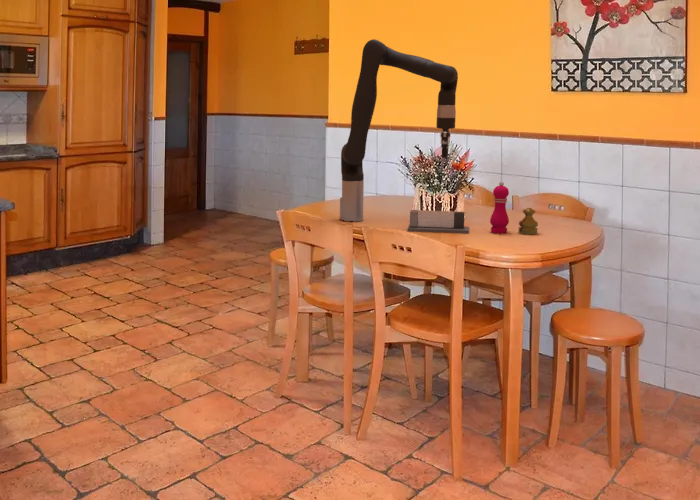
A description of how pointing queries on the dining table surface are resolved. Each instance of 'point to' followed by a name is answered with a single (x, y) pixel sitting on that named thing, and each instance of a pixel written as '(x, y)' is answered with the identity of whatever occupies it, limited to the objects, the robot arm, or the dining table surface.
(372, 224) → the dining table surface
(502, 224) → the pepper mill
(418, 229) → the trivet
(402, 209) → the dining table surface
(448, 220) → the block
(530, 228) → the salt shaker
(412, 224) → the block
